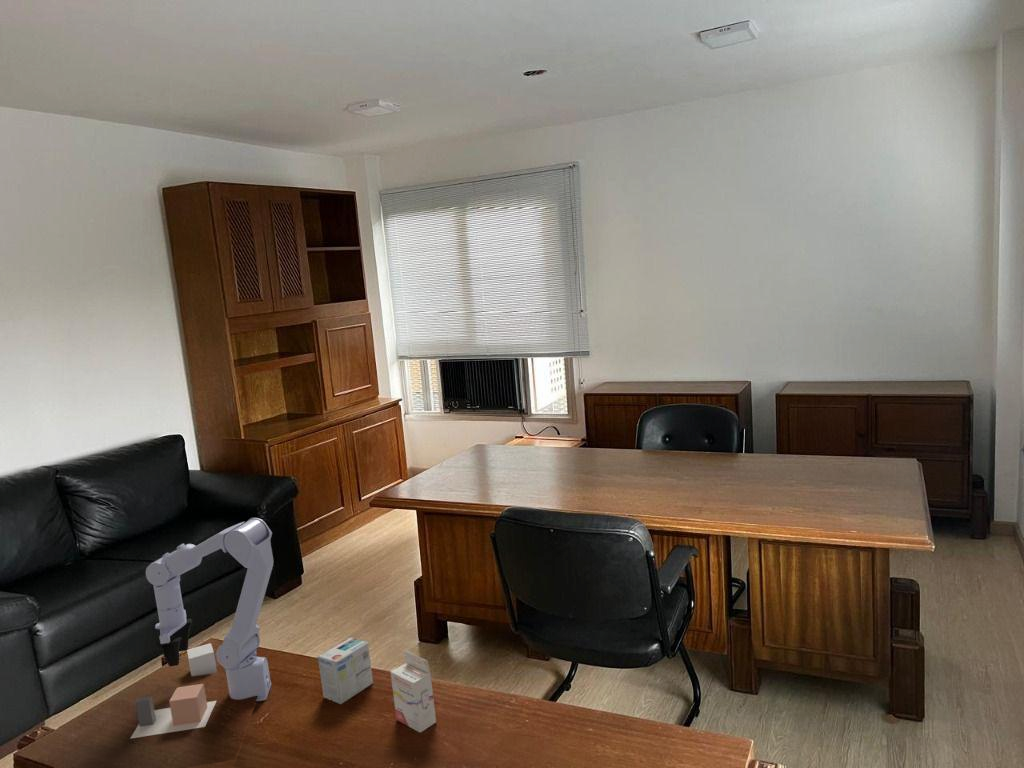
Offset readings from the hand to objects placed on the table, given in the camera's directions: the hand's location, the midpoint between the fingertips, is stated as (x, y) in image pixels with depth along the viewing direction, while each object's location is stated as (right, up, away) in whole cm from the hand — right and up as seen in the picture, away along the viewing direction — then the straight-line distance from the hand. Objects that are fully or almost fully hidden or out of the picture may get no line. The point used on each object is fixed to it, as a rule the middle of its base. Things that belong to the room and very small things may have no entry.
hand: (178, 657), depth 191 cm
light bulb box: (+43, -6, -5) cm, 44 cm away
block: (+8, -9, -12) cm, 17 cm away
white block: (+2, -8, +11) cm, 14 cm away
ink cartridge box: (+61, -7, -21) cm, 65 cm away
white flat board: (+5, -11, -12) cm, 17 cm away
